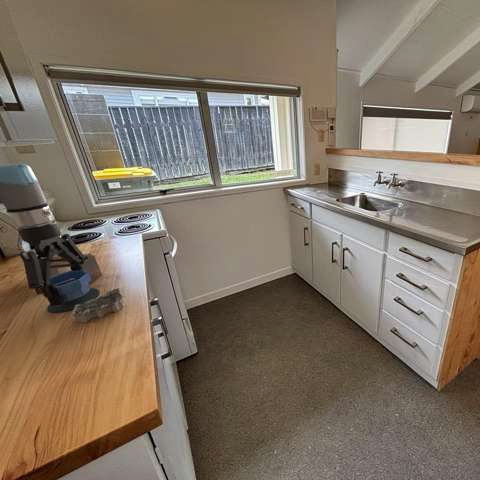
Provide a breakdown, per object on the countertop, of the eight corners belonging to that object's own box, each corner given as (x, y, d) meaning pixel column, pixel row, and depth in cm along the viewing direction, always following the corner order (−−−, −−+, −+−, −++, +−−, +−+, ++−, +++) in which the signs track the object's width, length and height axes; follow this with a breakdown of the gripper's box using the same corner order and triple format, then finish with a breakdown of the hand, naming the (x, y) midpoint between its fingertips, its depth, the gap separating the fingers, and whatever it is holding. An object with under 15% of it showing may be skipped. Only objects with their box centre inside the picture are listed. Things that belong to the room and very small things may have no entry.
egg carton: (125, 298, 78) (120, 286, 77) (124, 311, 72) (119, 298, 71) (79, 311, 73) (73, 299, 71) (74, 326, 67) (67, 313, 65)
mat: (35, 315, 72) (35, 314, 72) (67, 291, 83) (67, 290, 83) (83, 309, 73) (82, 308, 73) (108, 286, 84) (107, 286, 84)
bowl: (39, 306, 72) (29, 290, 70) (65, 287, 81) (58, 272, 79) (79, 302, 73) (71, 285, 71) (101, 283, 83) (94, 268, 81)
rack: (37, 294, 82) (23, 269, 79) (58, 279, 90) (47, 256, 87) (85, 288, 84) (74, 264, 80) (102, 274, 92) (92, 252, 89)
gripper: (13, 238, 59) (56, 316, 67) (81, 211, 79) (107, 273, 88) (-25, 241, 58) (23, 320, 66) (54, 213, 78) (83, 275, 87)
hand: (71, 293), depth 77 cm, fingers closed on bowl, 10 cm apart
